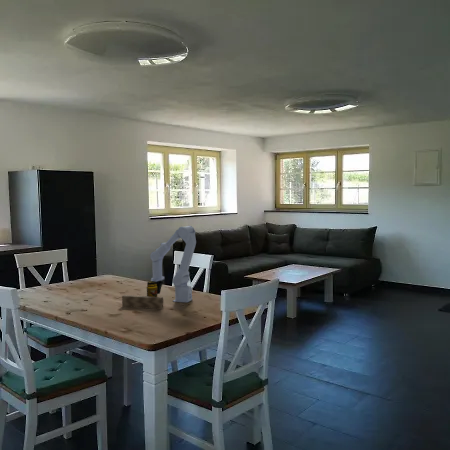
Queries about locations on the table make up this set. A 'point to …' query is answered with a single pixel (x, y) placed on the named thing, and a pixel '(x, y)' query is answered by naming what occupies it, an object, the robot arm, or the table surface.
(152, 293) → the condiment
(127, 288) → the table surface
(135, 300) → the board
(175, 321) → the table surface
